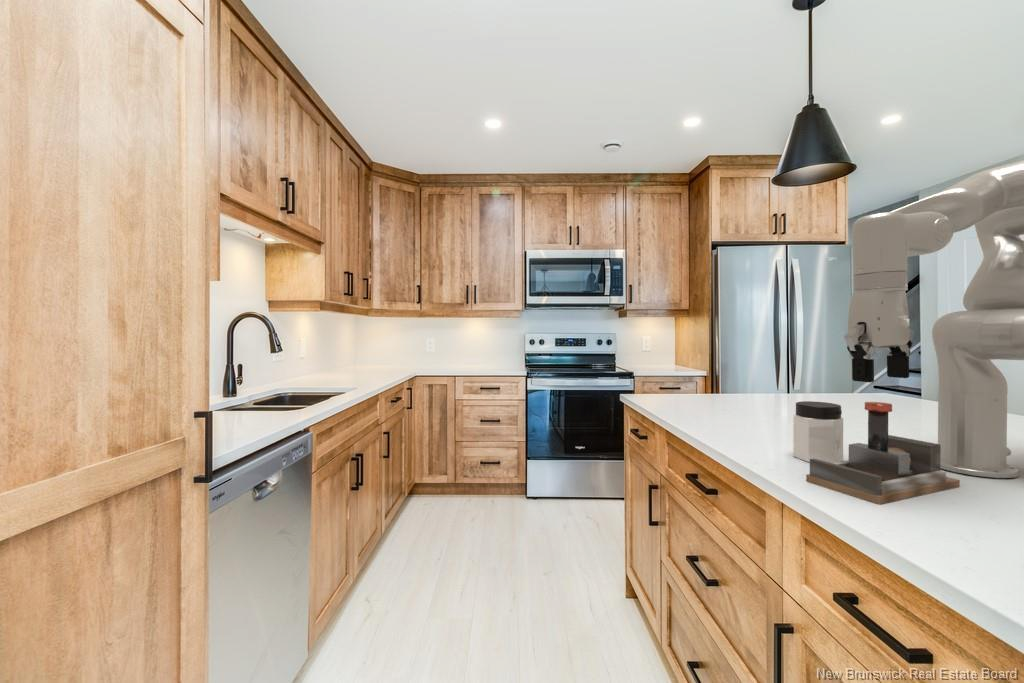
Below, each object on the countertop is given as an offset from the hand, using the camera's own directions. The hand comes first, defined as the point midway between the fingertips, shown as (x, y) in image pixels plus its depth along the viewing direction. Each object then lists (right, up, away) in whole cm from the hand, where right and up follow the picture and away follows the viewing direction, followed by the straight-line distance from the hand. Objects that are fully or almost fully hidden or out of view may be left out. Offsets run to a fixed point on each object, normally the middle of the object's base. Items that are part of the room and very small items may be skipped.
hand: (880, 379), depth 79 cm
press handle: (0, -17, 0) cm, 18 cm away
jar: (0, -19, +16) cm, 25 cm away
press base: (0, -19, +1) cm, 19 cm away
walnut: (+4, -15, +2) cm, 16 cm away
